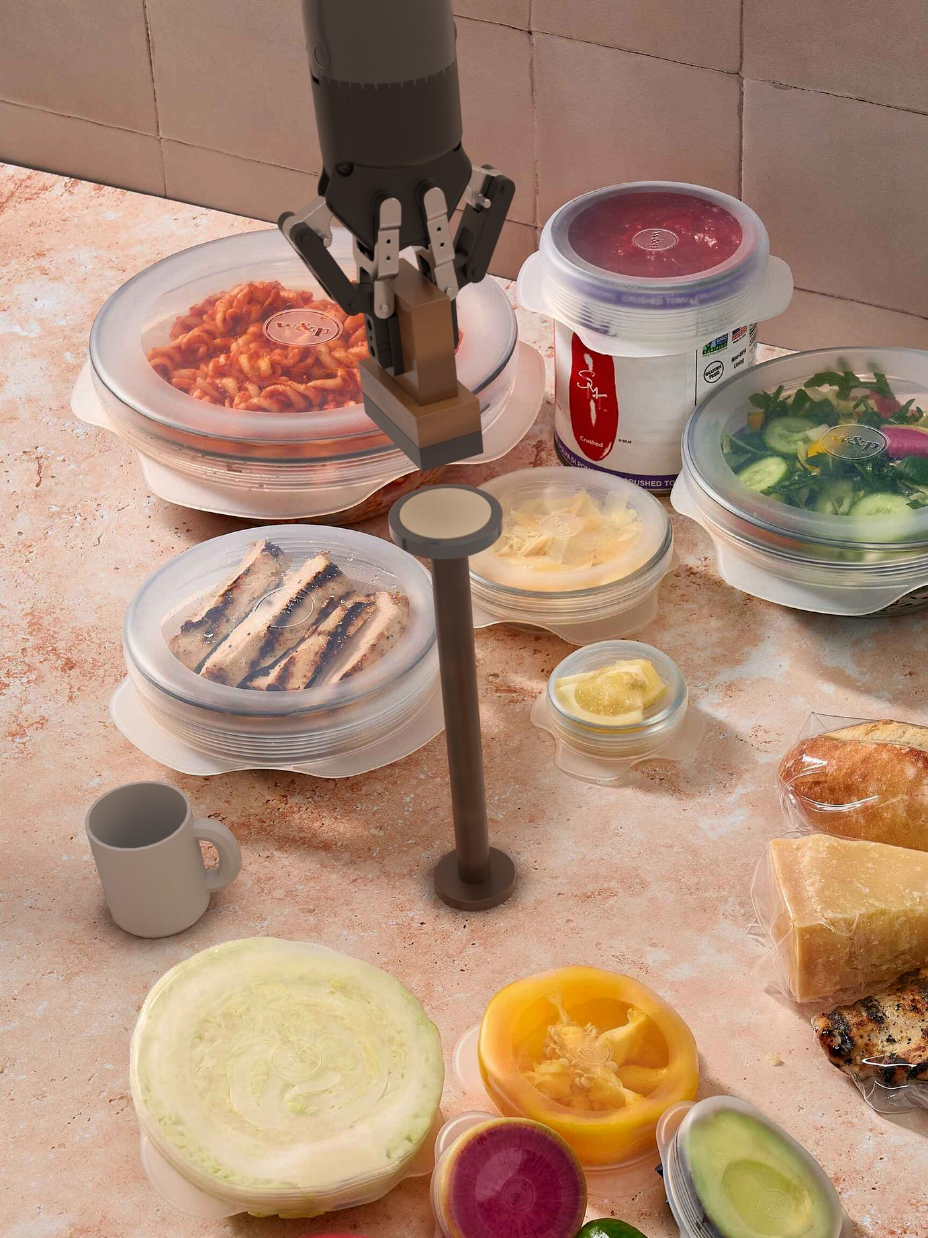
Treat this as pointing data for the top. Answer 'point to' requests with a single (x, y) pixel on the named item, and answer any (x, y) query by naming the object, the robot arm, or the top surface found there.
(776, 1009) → the top surface
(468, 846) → the stand
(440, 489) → the plate
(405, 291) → the brush
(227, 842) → the cup
